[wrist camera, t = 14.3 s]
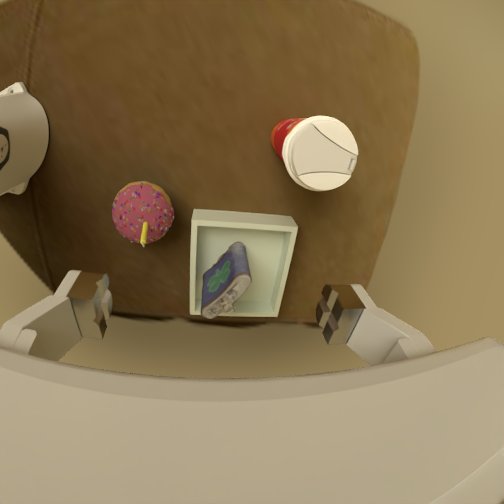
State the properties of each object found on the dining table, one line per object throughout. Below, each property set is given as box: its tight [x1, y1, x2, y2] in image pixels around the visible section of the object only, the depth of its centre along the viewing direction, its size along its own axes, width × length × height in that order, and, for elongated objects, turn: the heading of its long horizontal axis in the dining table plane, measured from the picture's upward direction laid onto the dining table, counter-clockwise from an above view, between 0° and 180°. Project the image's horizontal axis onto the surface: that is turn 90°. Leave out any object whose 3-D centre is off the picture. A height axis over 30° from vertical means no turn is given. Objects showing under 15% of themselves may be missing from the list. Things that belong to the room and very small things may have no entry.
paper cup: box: [271, 116, 358, 191], centre depth 30 cm, size 8×8×14 cm
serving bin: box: [190, 209, 298, 317], centre depth 43 cm, size 15×17×4 cm
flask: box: [201, 241, 252, 319], centre depth 39 cm, size 9×3×11 cm, turn 136°
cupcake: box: [112, 181, 174, 247], centre depth 33 cm, size 9×8×12 cm
